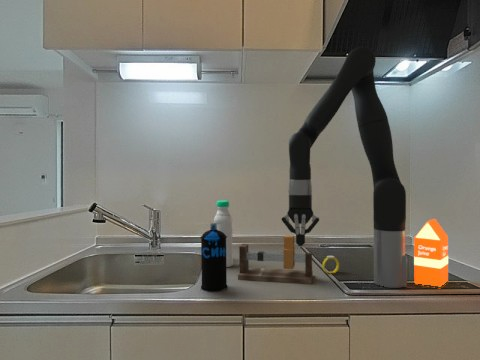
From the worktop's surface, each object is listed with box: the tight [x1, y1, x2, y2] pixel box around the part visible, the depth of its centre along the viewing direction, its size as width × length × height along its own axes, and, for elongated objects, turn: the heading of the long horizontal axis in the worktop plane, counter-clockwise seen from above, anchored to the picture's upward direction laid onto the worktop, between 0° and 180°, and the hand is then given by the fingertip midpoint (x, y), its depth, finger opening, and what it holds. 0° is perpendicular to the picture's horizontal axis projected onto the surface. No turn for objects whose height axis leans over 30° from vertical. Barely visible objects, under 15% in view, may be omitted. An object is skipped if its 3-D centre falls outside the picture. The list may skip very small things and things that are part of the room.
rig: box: [237, 243, 314, 285], centre depth 126 cm, size 24×10×10 cm, turn 76°
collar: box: [283, 234, 296, 270], centre depth 125 cm, size 3×6×10 cm, turn 166°
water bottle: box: [213, 200, 234, 268], centre depth 143 cm, size 7×7×25 cm
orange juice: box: [413, 218, 449, 287], centre depth 118 cm, size 8×9×20 cm
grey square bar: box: [246, 250, 306, 263], centre depth 126 cm, size 20×3×3 cm, turn 76°
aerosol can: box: [199, 222, 228, 292], centre depth 116 cm, size 8×8×20 cm
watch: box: [321, 255, 340, 274], centre depth 132 cm, size 6×3×6 cm, turn 106°
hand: (300, 245), depth 124 cm, fingers closed
